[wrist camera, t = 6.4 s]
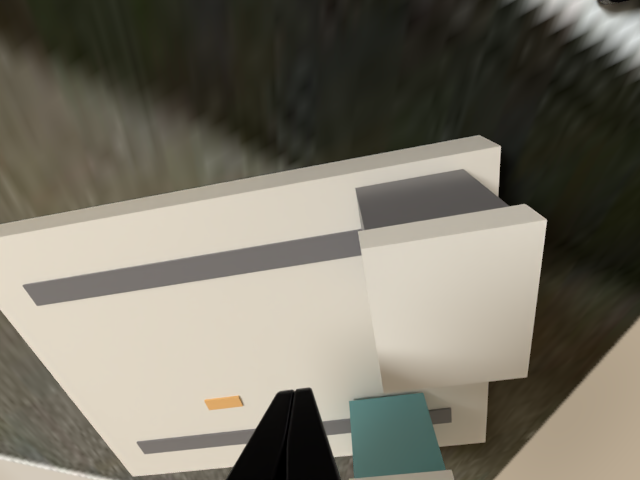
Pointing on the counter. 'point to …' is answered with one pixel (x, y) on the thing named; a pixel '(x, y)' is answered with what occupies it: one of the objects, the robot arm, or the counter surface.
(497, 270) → the grey and white slider
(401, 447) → the teal knob
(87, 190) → the counter surface
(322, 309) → the slotted slider plate
